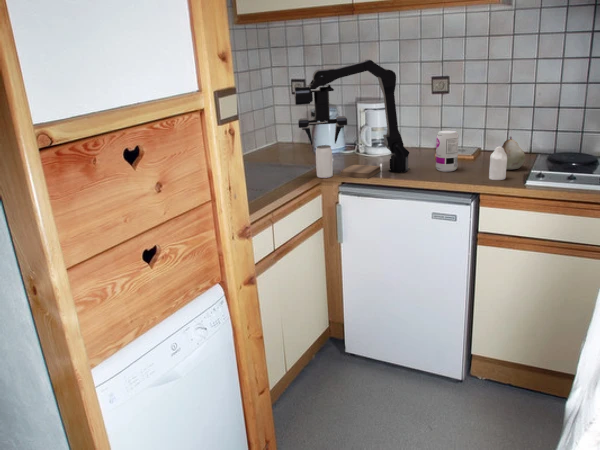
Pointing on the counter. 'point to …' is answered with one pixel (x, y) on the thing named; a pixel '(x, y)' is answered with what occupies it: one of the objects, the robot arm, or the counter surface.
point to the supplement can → (447, 150)
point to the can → (324, 161)
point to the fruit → (513, 154)
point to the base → (360, 171)
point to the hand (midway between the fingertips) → (323, 144)
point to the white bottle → (498, 164)
